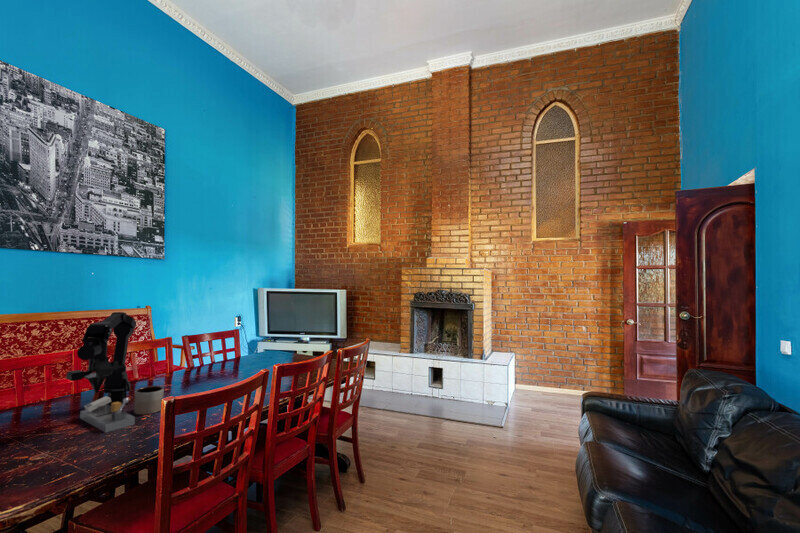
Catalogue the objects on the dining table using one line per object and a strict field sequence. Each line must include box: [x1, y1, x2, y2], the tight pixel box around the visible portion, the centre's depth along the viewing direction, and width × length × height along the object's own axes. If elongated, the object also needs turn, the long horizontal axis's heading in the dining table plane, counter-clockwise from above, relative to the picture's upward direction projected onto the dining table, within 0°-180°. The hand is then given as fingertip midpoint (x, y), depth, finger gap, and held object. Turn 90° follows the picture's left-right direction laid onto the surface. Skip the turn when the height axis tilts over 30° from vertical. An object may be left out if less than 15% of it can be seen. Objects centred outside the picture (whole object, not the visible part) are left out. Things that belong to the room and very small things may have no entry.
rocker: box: [84, 395, 112, 412], centre depth 162 cm, size 8×4×2 cm, turn 148°
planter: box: [133, 385, 165, 416], centre depth 171 cm, size 11×11×10 cm
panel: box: [79, 404, 136, 433], centre depth 158 cm, size 10×24×5 cm, turn 58°
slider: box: [111, 402, 121, 412], centre depth 160 cm, size 2×3×4 cm
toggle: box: [114, 397, 130, 416], centre depth 154 cm, size 2×2×8 cm
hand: (96, 392), depth 157 cm, fingers closed
